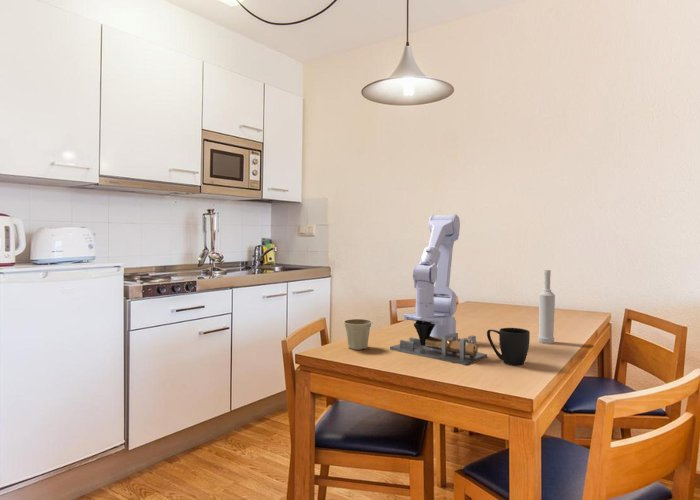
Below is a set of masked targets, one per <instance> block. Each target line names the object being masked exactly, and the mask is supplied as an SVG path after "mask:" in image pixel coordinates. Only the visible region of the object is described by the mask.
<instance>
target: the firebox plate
mask: <svg viewBox="0 0 700 500" xmlns="http://www.w3.org/2000/svg"><path fill="white" fill-rule="evenodd" d="M408 339H409V340H405V339H401V340H400V341H399V344H395V345H391V346H390V347H389V349H390V350H392V351H396V352H400V353H401V352H402V353H406V354H409V355H410V354H411V355H415V356H419V357H426V358H430V359H435V360H440V361H444V362H448V363H453V364H459V365H463V366H469V365H470V364H472V363H475V362H478V361H480V360H482V359H485V358H487V357H488V353H482V352H477V355H476V356H469V355H466V358H465V359H461V358H460V354H459V353H454V352H448V351H447V355H442V350H438V349H433V348H428V347H426V345H425V346H422V345H421V343H420V339H419V338H417V337H411V336H410V337H409V338H408Z"/></svg>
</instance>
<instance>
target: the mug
mask: <svg viewBox="0 0 700 500" xmlns="http://www.w3.org/2000/svg"><path fill="white" fill-rule="evenodd" d="M491 332H493V333H496V334H498V335H499V337H498V338H499V339H498V340H499V341H498V342H499V348H500V349H499V350H500V352H499V350H498V349H497V347H496V345H495V344H494V342H493V340H492V336H491ZM530 334H531V333H530V330H528V329H524V328H520V327H502V328H499V330H495V329H487V331H486V336H487V339H488V342H489V343H490V346H491V348H492V349H493V351H494V353H495V355H496V356H497V357H498V359H499V360H501V361H503V363H504V364H505V365H509V366H514V367H516V366H517V367H518V366H519V367H520V366H524V365H525V363H526V359H527V356H528V352H529V347H530V341H531V339H530V338H531V337H530V336H531V335H530Z"/></svg>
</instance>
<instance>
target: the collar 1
mask: <svg viewBox="0 0 700 500" xmlns="http://www.w3.org/2000/svg"><path fill="white" fill-rule="evenodd" d="M452 337H453V339H452V340H455V341H459V333H458V332H456V333H451V334H448V335H445V336H442V355H447V349H448V339H449V338H452Z"/></svg>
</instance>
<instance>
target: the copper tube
mask: <svg viewBox="0 0 700 500" xmlns="http://www.w3.org/2000/svg"><path fill="white" fill-rule="evenodd" d="M425 345H426V347H428V348H433V349H438V350H442V338H437V337H432V336H428V337H427V338H426V341H425ZM478 349H479V347H478V345H477V343H476V344H472V343H470V342H468V341H467V342H466V355H469V356H476V355H477V352H478V351H479V350H478ZM447 351H448V352H454V353H459V354H460V340H458V341H455V340H449V339H448V349H447Z"/></svg>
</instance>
